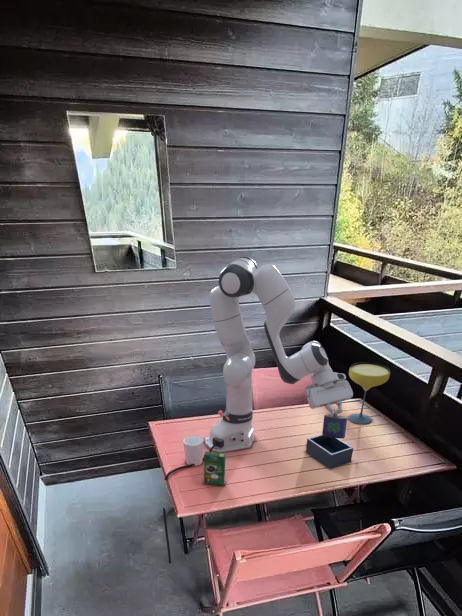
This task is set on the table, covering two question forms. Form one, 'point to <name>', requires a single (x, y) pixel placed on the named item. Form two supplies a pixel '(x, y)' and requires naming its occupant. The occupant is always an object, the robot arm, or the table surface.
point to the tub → (329, 450)
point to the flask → (334, 426)
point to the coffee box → (214, 468)
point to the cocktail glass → (367, 383)
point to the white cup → (193, 450)
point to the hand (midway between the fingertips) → (337, 413)
